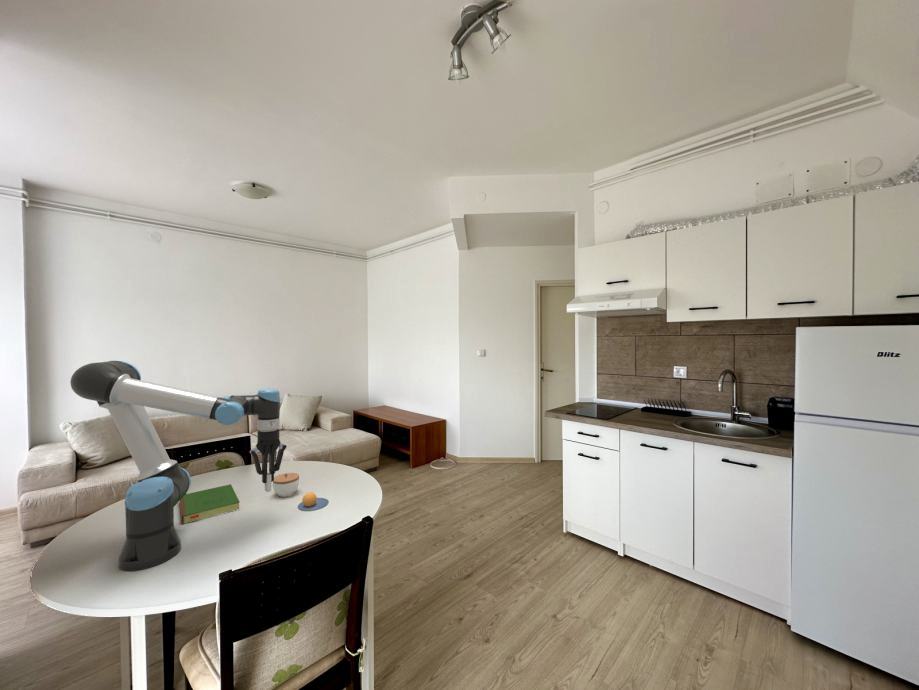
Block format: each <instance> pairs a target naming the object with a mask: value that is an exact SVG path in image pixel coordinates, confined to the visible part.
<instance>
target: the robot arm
mask: <svg viewBox="0 0 919 690" xmlns="http://www.w3.org/2000/svg"><path fill="white" fill-rule="evenodd" d="M70 388H71V389H72V391H73V392H74V394H76V395H77V396H78V397H80V398H82V399H85V400H89V401H96V402H97V405H98V406H99V408H103V409H106V410H108V412H109V414H110V416H111V418H112V421H113V422H114V425H115V426H116V428H117V431H118V432H119V434H120V435H121V438H122V440H123V441H124V444H125V446H126V447H127V450H128V452H129V453H130V454H129V455H130V456H131V458H132V459H133V461H134V463H135V465H136V467H137V469H138V472H139V474H138V476H137V478H136V481H137V482H136V483H134V484H133V485H131V486H129V488H128V489H126V493H125V498H124V506H125V507H124V509H125V512H124V513H125V541H124V544H123V546H122V549H121V551H120V554H119V558H118V568H119V569H120V570H123V571H127V572H128V571H129V572H130V571H131V572H132V571H139V570H140V571H141V570H144V569H148V568H152V567H155V566H158V565H160V564H163V563H164V562H167V561H168V560H170V559H171V558H174V557H175V556H176V555H177V554H178V553H180V551H181V548H182V541H181V538H180V535H179V534H178V532H177V530H176V528H175V521H174V520H175V518H174V515H175V513H174V510H175V506H176V505H177V504H178V503H180V500H181V499H182V498H183V497H184V496H185V495H186V494H188V492H189V489H190V487H191V483H192V481H191V480H192V479H191V475H190V473H189V472H188V471H187V470H186V469H185V468H183V467H181V466H180V464H179V463H178V461H177V460H175V459H172V458H171V459H170V457H169V455H168V452H167V451H166V448H165V446H164V444H163V442H162V440H161V439H160V436H159V435H158V432H157V430H156V428H155V426H154V424H153V421H152V419H151V418H150V416H149V414H148V411H147V410H146V408H153V409H156V410H160V411H161V410H162V411H167V412H172V413H178V414H182V415H187V416H193V417H198V418H203V419H210V420H213V421H217V422H218V423H219V424H221V425H223V426H230V425H234V424H235V423H238V422H239V421H241V420H242V418H243V417H244V416H257V430H258V431H257V439H256V440H257V441H256V445H255V447H254V448H253V449H250V450H248V451H249V454H250V455H251V456H252V457H251V458H252V459H253V463H254V467H255V472H256V474H258V475H260V476H261V482H262V483H263V484H264V491H265V492H267V493H269V492H272V483H273V481H274V477H275V474H276V472H278V471H280V468H281V464H282V460H283V456H284V452H285V451H286V449H287V445H286V444H284V443H281V440H280V424H281V423H280V421H281V420H280V419H281V418H280V417H281V416H280V415H281V414H280V413H281V412H280V410H281V409H280V408H281V407H280V406H281V400H280V399H281V396H280V395H281V393H280V391H279V389H277V388H262V389H259V390H258V391H257V394H253V395H250V394H248V395H247V394H246V395H226V396H222V397H218V396H215V395H209V394H205V393H202V392H196V391H192V390H188V389H181V388H177V387H173V386H168V385H164V384H158V383H154V382H149V381H145V380H142V374H141V372H140V370H139V369H138V368H137V367H136V366H135V365H134V364H132V363H129V362H127V361H123V360H121V361H120V360H109V361H101V362H99V361H98V362H91V363H87V364H84V365H82V366H80V367H79V368H77V369H76V370H75V371H74V372H73V374H72V376H71V378H70ZM145 407H146V408H145ZM277 450H278V451H277ZM258 451H259V452H260V454H261V464H260V459H259V456H258V453H259V452H258ZM276 451H277V454H276ZM275 456H276V457H275Z"/></svg>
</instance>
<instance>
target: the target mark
mask: <svg viewBox="0 0 919 690" xmlns="http://www.w3.org/2000/svg"><path fill="white" fill-rule="evenodd" d="M329 503H330V502H329V499H327V498H326V497H325V498H324V497H317V500H316V502H315V504H314V505H312V506H310V507H307V506H305V505H304V504H303V502H302V501H301V502H300V503H298V505H297V509H298V510H300V511H303V512H312V511H317V510H321V509H323V508H325V507H326V506H328V504H329Z"/></svg>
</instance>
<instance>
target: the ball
mask: <svg viewBox="0 0 919 690" xmlns="http://www.w3.org/2000/svg"><path fill="white" fill-rule="evenodd" d="M317 498H318V497H317V495H316V493H314V492H311V491H310V492H307V493H305V494H304V495H303V497H302V500H301V502H303V504H304V505H305V506H307V507H310V506H312V505H314V504H315V502H316V500H317Z"/></svg>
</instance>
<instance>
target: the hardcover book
mask: <svg viewBox="0 0 919 690" xmlns="http://www.w3.org/2000/svg"><path fill="white" fill-rule="evenodd" d="M179 508H180V510H181V511H180V519H182V520H181V525H185V524H189V523H193V522H196V521H195V520H197V521H199V520H198V519H201V520H203V519H202V518H205V519H207V518H206V517H208V518H211V517H210V516H212V517H215V516H214V515H216V516H219V515H218V514H220V515H222V514H221V513H224V514H226V513H225V512H228V513H230V512H229V511H232V512H234V511H233V510H235V511H238V510H237V509H239V510H240V500H239V498H238V496H237V494H236V492H235V490H234V487H233V486H232V484H226V485H225V484H224V485H221V486H217V487H211V488H207V489H203V490H200V491H193V492H190V493H186V495H185V496H184V497H183V498H182V499H181V500H180V501H179ZM192 521H193V522H192ZM188 522H189V523H188Z"/></svg>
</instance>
